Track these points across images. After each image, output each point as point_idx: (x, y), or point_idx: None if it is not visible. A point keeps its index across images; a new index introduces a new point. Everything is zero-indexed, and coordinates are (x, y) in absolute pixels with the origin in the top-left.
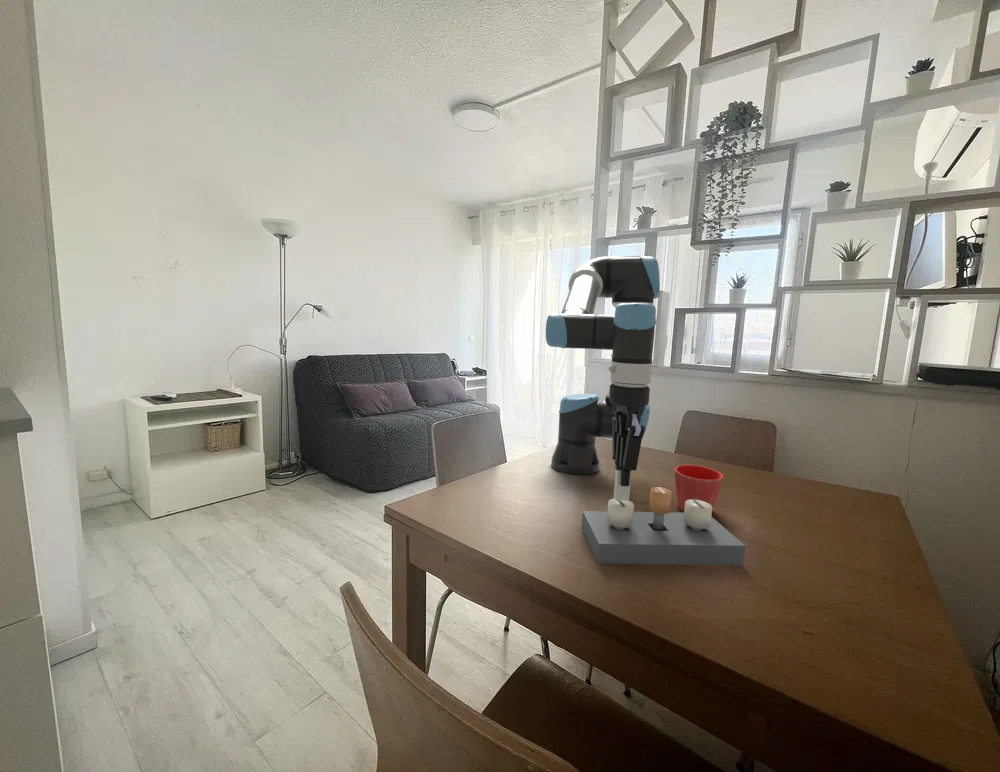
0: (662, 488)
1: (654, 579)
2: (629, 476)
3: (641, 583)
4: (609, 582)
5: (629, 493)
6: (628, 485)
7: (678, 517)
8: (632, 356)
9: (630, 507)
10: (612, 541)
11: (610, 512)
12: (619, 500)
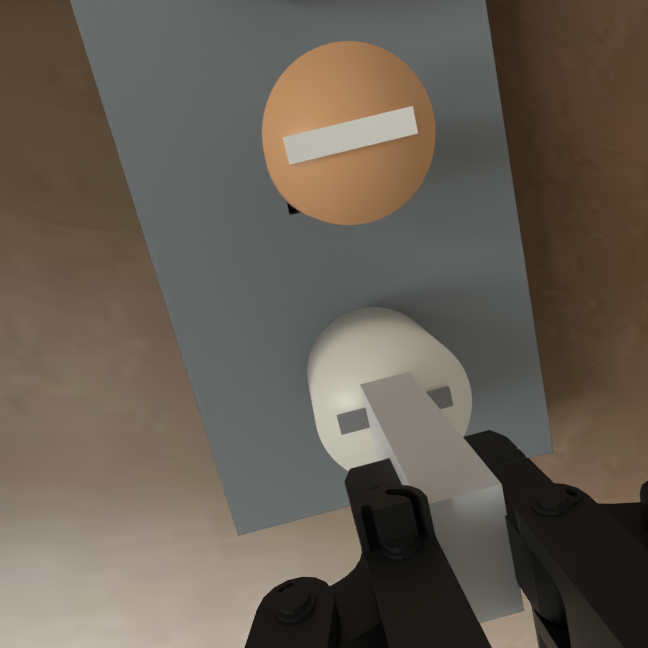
0: (284, 111)
1: (581, 217)
2: (542, 474)
3: (612, 268)
4: (621, 377)
5: (422, 389)
6: (497, 436)
7: (146, 2)
8: None
9: (444, 355)
10: (524, 398)
11: None
12: (367, 420)
